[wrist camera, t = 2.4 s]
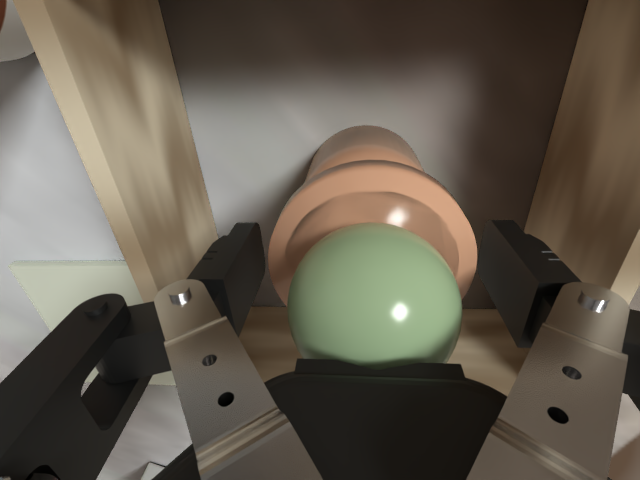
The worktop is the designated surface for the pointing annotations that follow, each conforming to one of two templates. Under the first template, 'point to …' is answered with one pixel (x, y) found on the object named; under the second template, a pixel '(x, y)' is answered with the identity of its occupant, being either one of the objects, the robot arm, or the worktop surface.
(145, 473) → the supplement box
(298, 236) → the terracotta pot
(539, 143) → the worktop surface
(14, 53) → the milk bottle
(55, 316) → the sage mat
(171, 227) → the wooden shadow box
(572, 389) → the robot arm
